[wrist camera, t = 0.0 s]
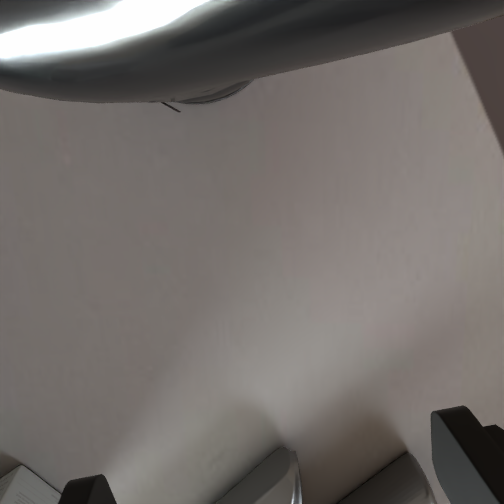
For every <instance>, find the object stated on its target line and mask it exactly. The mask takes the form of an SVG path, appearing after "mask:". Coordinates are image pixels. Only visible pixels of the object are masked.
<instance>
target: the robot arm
mask: <svg viewBox="0 0 504 504" xmlns="http://www.w3.org/2000/svg"><path fill="white" fill-rule="evenodd" d="M503 15H504V0H0V89H1V90H5V91H9V92H13V93H17V94H23V95H29V96H35V97H41V98H47V99H53V100H59V101H71V102H86V103H141V102H161V103H163V104H164V105H166V106H168V107H170V108H172V109H173V110H175V111H177V112H181V111H179V110H177V109H175V108H173V107H172V106H170V105H168V104H166V103H164V102H179V103H185V104H205V103H212V102H216V101H220V100H222V99H225V98H228V97H230V96H232V95H234V94H236V93H237V92H239V91H240V90H242V89H243V88H245V87H246V86H247V85H248V84H250V83H251V82H252V81H253V80H254V79H257V78H261V77H266V76H270V75H275V74H279V73H284V72H288V71H293V70H297V69H302V68H306V67H311V66H315V65H320V64H324V63H329V62H333V61H337V60H341V59H346V58H350V57H354V56H358V55H363V54H367V53H371V52H375V51H379V50H383V49H387V48H391V47H395V46H399V45H402V44H406V43H410V42H414V41H418V40H421V39H425V38H428V37H432V36H436V35H439V34H443V33H446V32H450V31H453V30H457V29H460V28H464V27H467V26H471V25H474V24H477V23H480V22H483V21H487V20H490V19H494V18H497V17H500V16H503ZM431 441H432V460H433V465H434V469H435V472H436V475H437V478H438V480H439V483H440V485H441V487H442V489H443V490H444V492H445V494H446V496H447V497H448V499H449V501H450V503H451V504H504V430H503V429H502V428H500V427H498V426H497V425H490V426H485V427H483V426H482V425H481V424H480V422H479V421H478V420H477V419H476V417H475V416H474V415H473V414H472V412H471V411H470V410H469V409H468V408H467V407H465V406H458V407H453V408H448V409H442V410H437V411H433V412H432V413H431ZM58 504H117V503H116V501H115V498H114V496H113V494H112V491H111V489H110V487H109V484H108V482H107V479H106V478H105V476H104V475H102V474H100V475H95V476H90V477H85V478H79V479H74V480H70V481H69V482H68V483H67V484H66V486H65V488H64V490H63V492H62V495H61V497H60V500H59V502H58Z"/></svg>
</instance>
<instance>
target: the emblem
mask: <svg viewBox="0 0 504 504" xmlns="http://www.w3.org/2000/svg"><path fill="white" fill-rule="evenodd" d="M216 504H303V496H302V485H301V477H300V471H299V464H298V459H297V454H296V452H295V451H290V450H289V449H287V448H286V447H281V448H279V449H277V450H276V451H275V452H273V453H272V454H271V455H270V456H269V457H268V458H266V459H265V460H264V461H263V462H262V463H261V464H260V465H259V466H257V467H256V468H255V469H254V470H253V471H252V472H251V473H250V474H249V475H247V476H246V477H245V478H244V479H243V480H242V481H241V482H240V483H238V484H237V485H236V486H235V487H234V488H233V489H232V490H231V491H229V492H228V493H227V494H226V495H225V496H224V497H223V498H221V499H220V500H219V501H218V502H217V503H216ZM338 504H437V502H436V499H435V496H434V494H433V491H432V489H431V486H430V484H429V482H428V480H427V478H426V476H425V474H424V472H423V470H422V468H421V467H420V465H419V463H418V462H417V460H416V459H415V457H414V456H413V455H412V454H410V453H406V454H404V455H403V456H401V457H400V458H398V459H397V460H395V461H394V462H393V463H391V464H390V465H389V466H387V467H386V468H385V469H383V470H382V471H381V472H379V473H378V474H377V475H375V476H374V477H373V478H371V479H370V480H369V481H367V482H366V483H365V484H363V485H362V486H361V487H359V488H358V489H357V490H355V491H354V492H353V493H351V494H350V495H349V496H347V497H346V498H345V499H343V500H342V501H341V502H339V503H338Z"/></svg>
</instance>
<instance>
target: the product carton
mask: <svg viewBox="0 0 504 504" xmlns="http://www.w3.org/2000/svg"><path fill="white" fill-rule="evenodd" d="M60 497H61V494H60V493H59V492H57V491H56V490H55V489H53V488H52V487H51V486H49V485H48V484H47V483H46V482H44V481H43V480H42V479H40V478H39V477H38V476H37V475H35V474H34V473H33V472H31V471H30V470H29V469H27V468H26V467H24V466H23V465H20V466H18V467H16V468H15V469H14V470H12V471H11V472H9V473H8V474H6V475H5V476H3V477H2V478H0V504H58V502H59V500H60Z"/></svg>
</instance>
